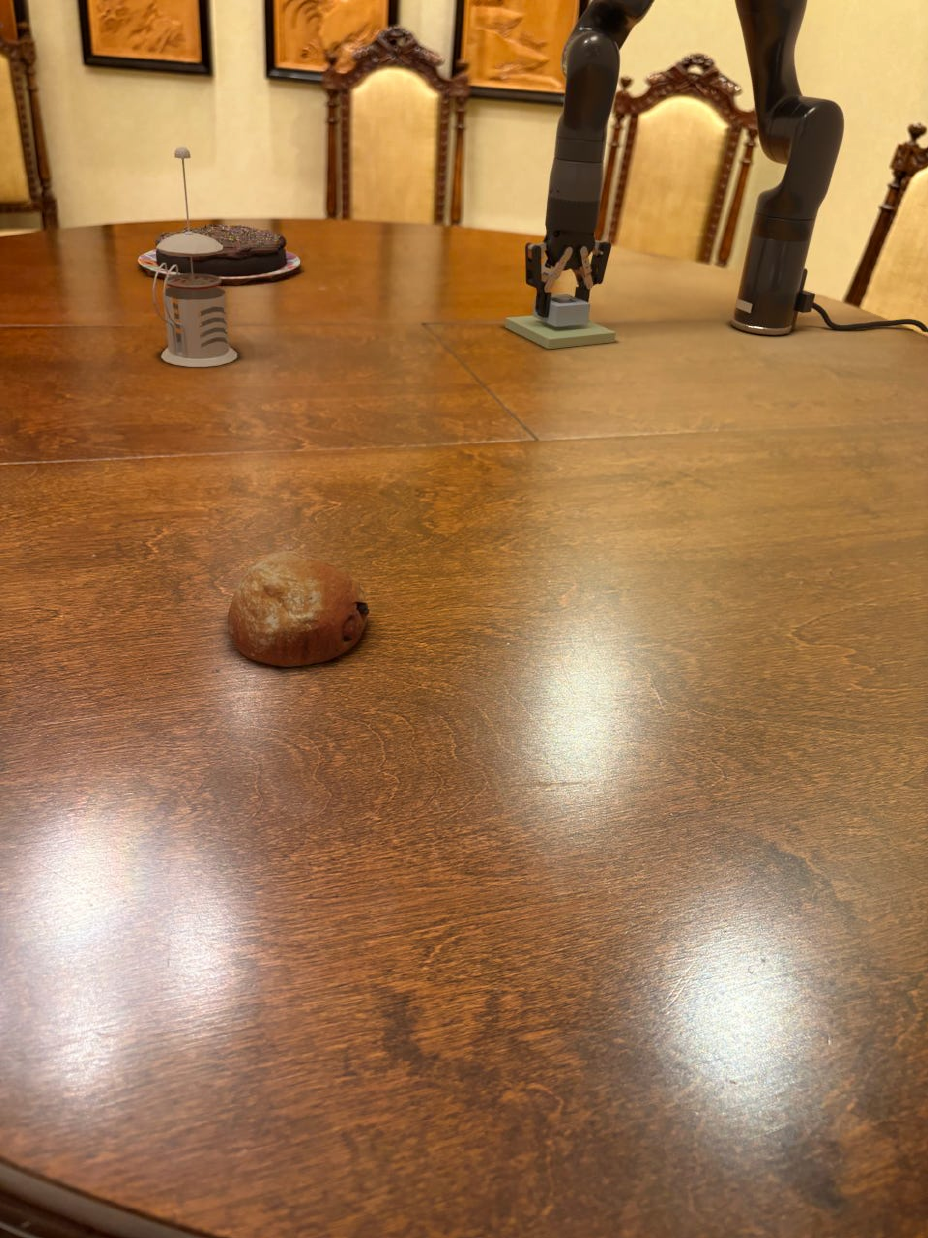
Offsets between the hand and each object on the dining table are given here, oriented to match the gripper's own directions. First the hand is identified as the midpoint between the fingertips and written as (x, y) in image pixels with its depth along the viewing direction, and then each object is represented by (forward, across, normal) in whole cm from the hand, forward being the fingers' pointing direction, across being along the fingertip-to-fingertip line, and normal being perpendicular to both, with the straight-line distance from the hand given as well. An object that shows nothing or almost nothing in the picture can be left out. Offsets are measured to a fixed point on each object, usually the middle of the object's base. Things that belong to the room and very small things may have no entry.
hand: (561, 314), depth 146 cm
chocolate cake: (+3, -35, +55) cm, 65 cm away
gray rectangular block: (+1, 0, 0) cm, 1 cm away
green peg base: (+3, 0, 0) cm, 3 cm away
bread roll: (+3, -66, -62) cm, 90 cm away
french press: (+3, -54, +6) cm, 54 cm away
